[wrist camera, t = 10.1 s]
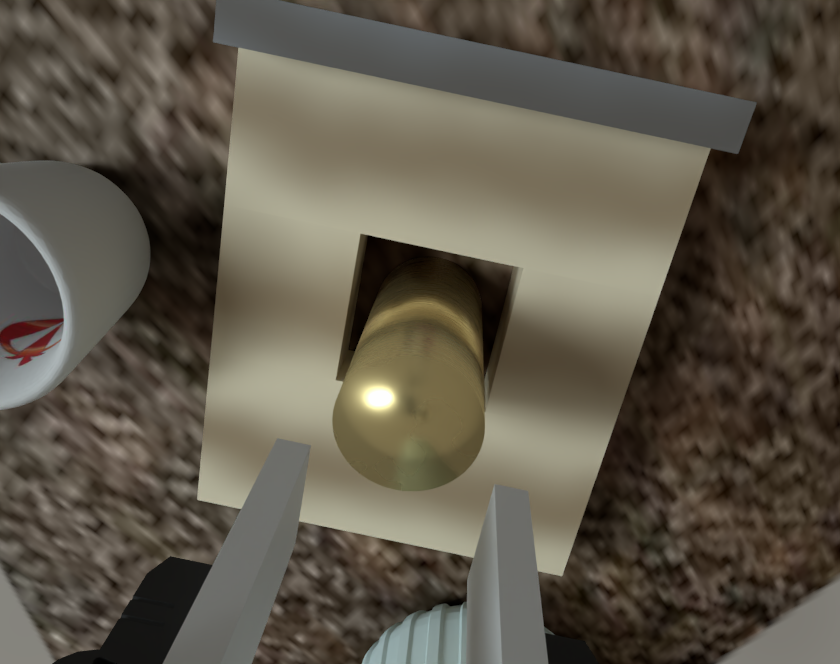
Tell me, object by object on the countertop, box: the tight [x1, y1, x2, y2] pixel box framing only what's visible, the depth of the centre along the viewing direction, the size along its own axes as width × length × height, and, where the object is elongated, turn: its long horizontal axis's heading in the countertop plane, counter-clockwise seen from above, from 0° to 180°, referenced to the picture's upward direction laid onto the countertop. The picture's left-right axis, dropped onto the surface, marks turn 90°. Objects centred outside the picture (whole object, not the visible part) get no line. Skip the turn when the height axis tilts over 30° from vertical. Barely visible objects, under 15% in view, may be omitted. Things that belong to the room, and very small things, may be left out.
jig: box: [197, 0, 757, 576], centre depth 27 cm, size 20×16×6 cm
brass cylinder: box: [332, 257, 485, 491], centre depth 25 cm, size 4×4×10 cm
